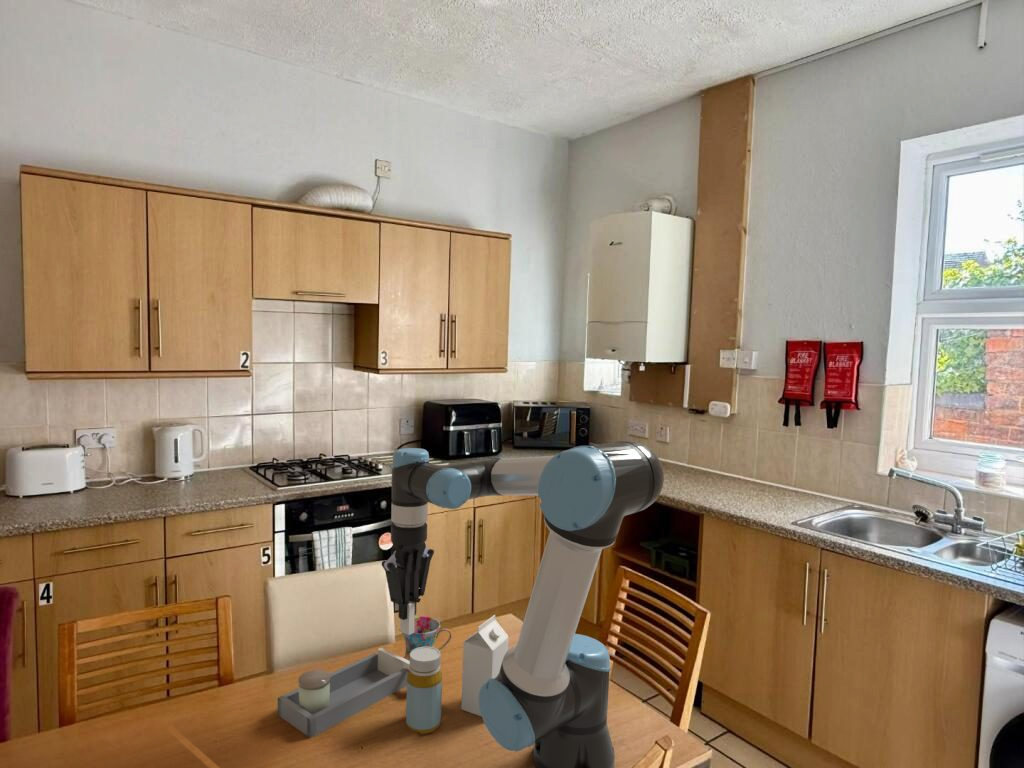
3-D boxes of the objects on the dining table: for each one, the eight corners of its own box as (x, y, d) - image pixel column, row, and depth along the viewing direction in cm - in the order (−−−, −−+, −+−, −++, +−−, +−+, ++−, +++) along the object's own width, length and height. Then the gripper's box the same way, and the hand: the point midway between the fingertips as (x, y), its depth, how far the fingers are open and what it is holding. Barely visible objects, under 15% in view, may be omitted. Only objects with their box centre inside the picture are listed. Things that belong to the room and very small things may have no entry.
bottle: (434, 738, 125) (436, 664, 124) (400, 732, 127) (402, 659, 126) (445, 718, 132) (447, 647, 131) (413, 712, 134) (414, 643, 133)
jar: (336, 714, 131) (336, 677, 130) (309, 728, 126) (310, 689, 125) (318, 703, 134) (318, 666, 134) (291, 716, 130) (292, 678, 129)
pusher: (429, 691, 141) (429, 667, 140) (419, 697, 138) (419, 672, 138) (384, 667, 150) (384, 645, 150) (374, 672, 148) (374, 650, 147)
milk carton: (461, 710, 135) (463, 623, 134) (478, 694, 141) (480, 610, 140) (490, 720, 132) (493, 631, 130) (506, 703, 138) (509, 618, 137)
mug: (399, 679, 146) (400, 634, 146) (399, 659, 155) (400, 616, 155) (452, 676, 148) (453, 632, 148) (449, 656, 158) (450, 614, 157)
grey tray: (407, 688, 143) (408, 669, 142) (310, 741, 123) (310, 720, 123) (374, 670, 150) (374, 652, 149) (277, 718, 130) (277, 697, 130)
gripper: (419, 513, 141) (417, 617, 143) (373, 525, 131) (371, 637, 133) (444, 519, 137) (441, 627, 138) (397, 533, 126) (395, 648, 128)
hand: (407, 631), depth 135 cm, fingers closed
